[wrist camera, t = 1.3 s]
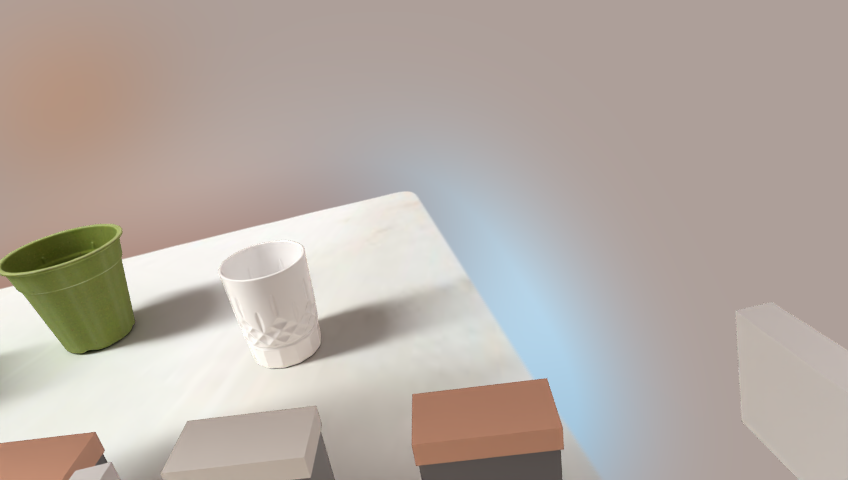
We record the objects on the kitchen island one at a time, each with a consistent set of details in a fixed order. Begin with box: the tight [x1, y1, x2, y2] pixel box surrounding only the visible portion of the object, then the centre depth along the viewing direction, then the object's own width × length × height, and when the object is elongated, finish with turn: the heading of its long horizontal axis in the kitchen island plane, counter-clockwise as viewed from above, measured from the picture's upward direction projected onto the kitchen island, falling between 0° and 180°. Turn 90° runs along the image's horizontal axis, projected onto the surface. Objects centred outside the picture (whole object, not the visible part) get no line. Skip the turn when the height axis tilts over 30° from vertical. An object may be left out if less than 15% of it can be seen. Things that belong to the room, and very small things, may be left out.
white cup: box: [218, 240, 321, 369], centre depth 54 cm, size 8×8×10 cm
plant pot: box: [0, 224, 135, 353], centre depth 61 cm, size 12×12×11 cm
